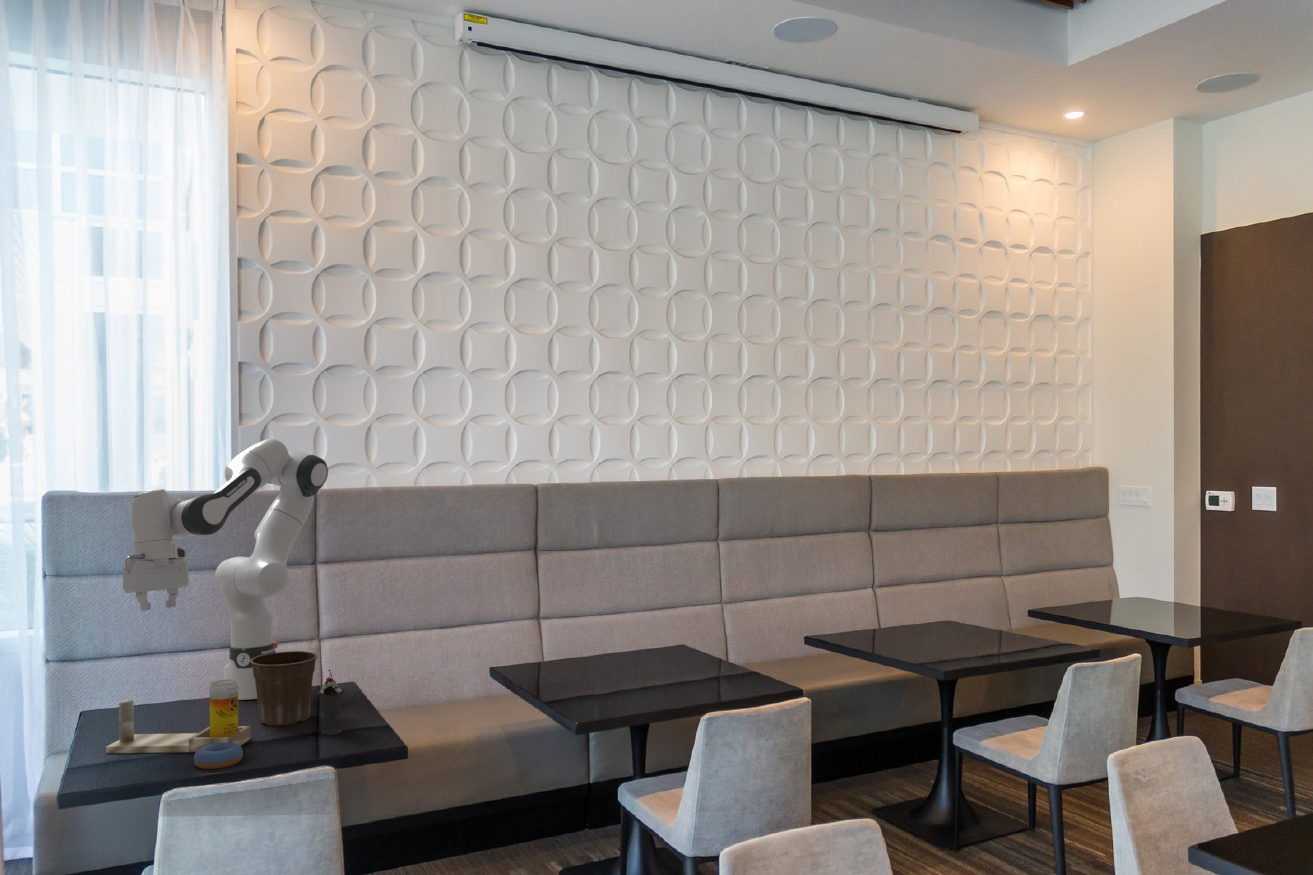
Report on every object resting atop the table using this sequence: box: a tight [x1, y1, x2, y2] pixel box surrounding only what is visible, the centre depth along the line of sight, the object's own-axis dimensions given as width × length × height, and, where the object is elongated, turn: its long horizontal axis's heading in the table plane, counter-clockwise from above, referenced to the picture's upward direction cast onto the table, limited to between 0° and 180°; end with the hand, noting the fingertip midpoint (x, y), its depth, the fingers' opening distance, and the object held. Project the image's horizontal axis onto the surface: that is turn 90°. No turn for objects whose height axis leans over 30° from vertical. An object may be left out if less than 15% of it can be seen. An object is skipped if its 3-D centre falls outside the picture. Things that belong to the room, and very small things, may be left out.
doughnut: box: [193, 742, 244, 770], centre depth 218 cm, size 10×10×5 cm
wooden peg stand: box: [105, 699, 251, 754], centre depth 231 cm, size 29×10×10 cm, turn 90°
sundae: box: [316, 669, 346, 736], centre depth 241 cm, size 7×7×15 cm
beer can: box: [209, 679, 239, 737], centre depth 231 cm, size 6×6×15 cm
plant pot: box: [250, 650, 318, 727], centre depth 253 cm, size 16×16×16 cm
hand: (158, 608), depth 246 cm, fingers open, 8 cm apart
